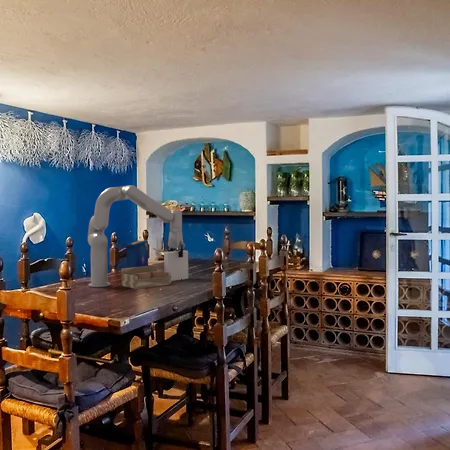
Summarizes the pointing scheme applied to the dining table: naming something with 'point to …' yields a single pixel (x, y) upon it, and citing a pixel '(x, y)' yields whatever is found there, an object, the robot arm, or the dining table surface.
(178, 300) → the dining table surface
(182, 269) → the tall sheet
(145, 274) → the offcut
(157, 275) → the offcut
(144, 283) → the rack
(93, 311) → the dining table surface
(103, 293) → the dining table surface
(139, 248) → the book
